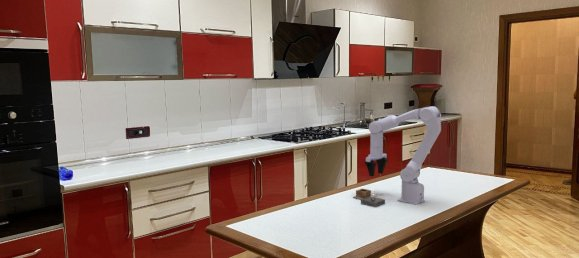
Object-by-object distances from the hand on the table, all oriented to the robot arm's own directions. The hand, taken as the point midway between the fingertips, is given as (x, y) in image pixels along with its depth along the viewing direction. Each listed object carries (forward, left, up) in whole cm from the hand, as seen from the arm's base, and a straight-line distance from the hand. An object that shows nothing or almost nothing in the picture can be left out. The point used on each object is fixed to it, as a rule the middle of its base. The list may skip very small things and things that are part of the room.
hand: (376, 174), depth 203 cm
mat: (+2, +8, -10) cm, 13 cm away
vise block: (-7, +13, -10) cm, 18 cm away
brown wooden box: (+2, +8, -9) cm, 12 cm away
